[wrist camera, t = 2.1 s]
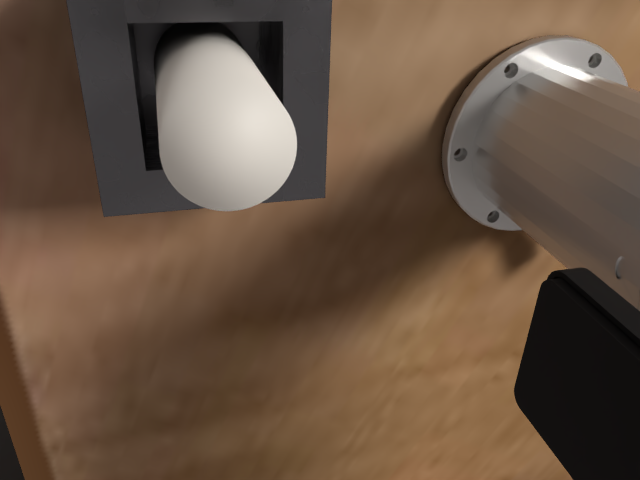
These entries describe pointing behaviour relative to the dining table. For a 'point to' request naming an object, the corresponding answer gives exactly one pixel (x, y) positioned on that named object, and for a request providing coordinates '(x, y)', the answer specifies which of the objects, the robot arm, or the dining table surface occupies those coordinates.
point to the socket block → (140, 93)
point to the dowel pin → (219, 120)
